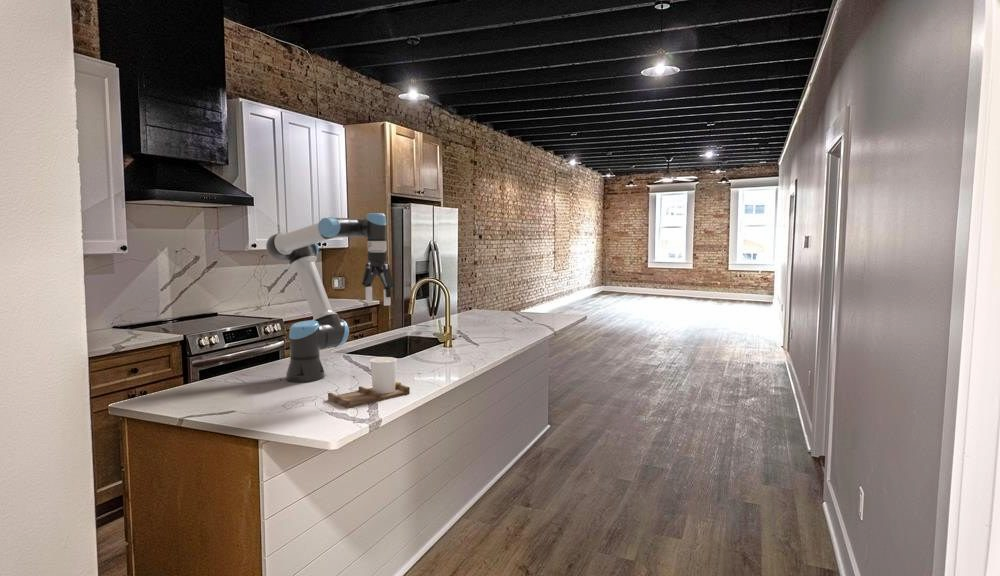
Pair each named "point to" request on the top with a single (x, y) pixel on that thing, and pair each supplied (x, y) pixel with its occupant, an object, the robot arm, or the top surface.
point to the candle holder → (383, 374)
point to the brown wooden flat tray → (366, 396)
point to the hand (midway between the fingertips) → (378, 304)
